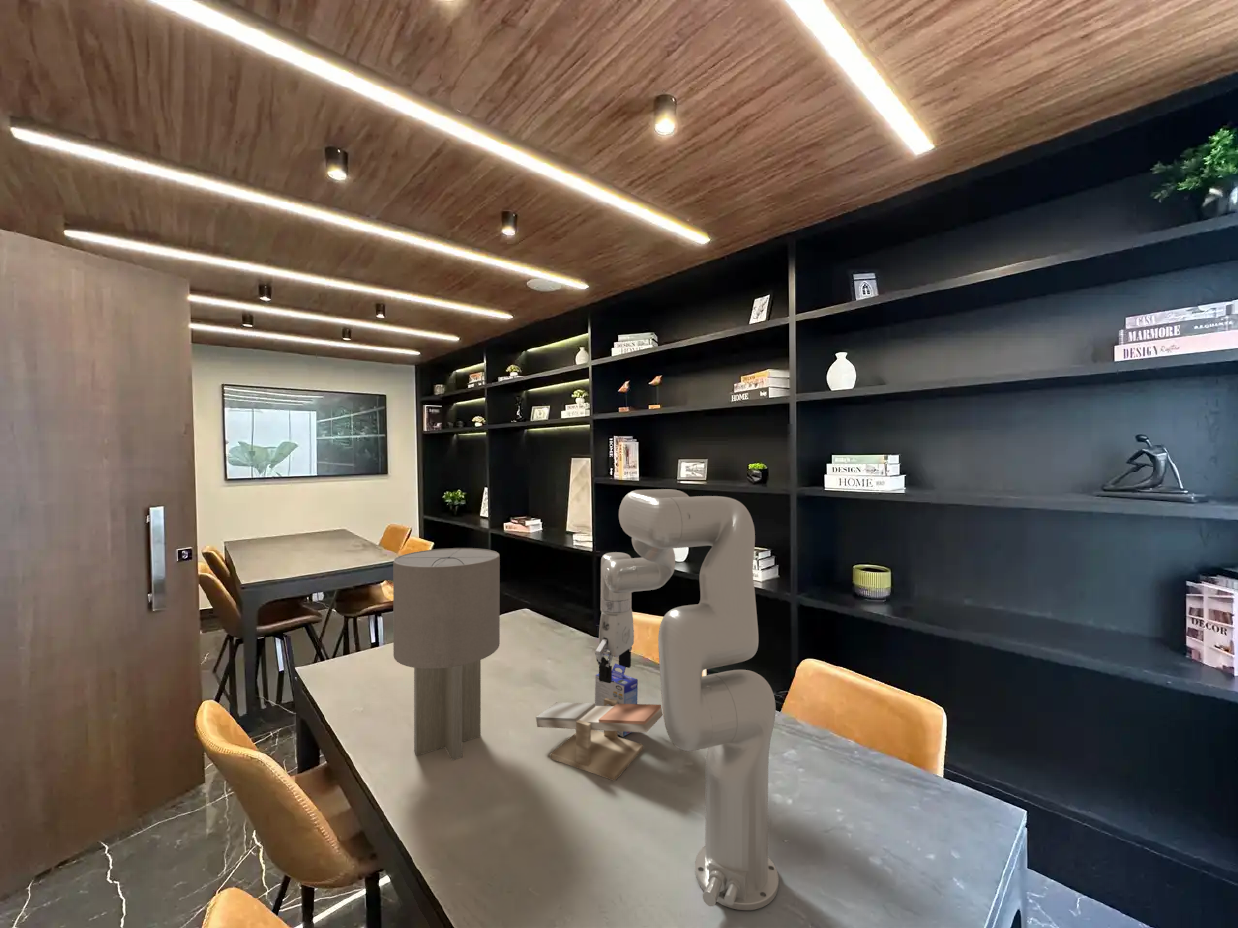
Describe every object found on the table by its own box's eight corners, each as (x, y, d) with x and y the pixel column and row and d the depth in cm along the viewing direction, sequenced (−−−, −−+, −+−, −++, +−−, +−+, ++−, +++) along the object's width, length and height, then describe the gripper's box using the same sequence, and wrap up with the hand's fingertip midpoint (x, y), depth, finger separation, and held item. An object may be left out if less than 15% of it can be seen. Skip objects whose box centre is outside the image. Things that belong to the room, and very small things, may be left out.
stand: (643, 748, 114) (643, 706, 114) (614, 780, 102) (614, 733, 102) (583, 730, 122) (583, 691, 121) (550, 758, 110) (550, 714, 110)
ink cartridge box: (639, 729, 122) (639, 669, 122) (624, 738, 118) (624, 676, 118) (608, 715, 129) (608, 658, 129) (593, 724, 125) (593, 665, 125)
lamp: (404, 787, 100) (404, 571, 100) (385, 735, 119) (385, 553, 119) (514, 751, 113) (514, 559, 112) (481, 709, 132) (481, 544, 132)
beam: (664, 712, 110) (662, 702, 110) (644, 734, 101) (642, 723, 101) (560, 709, 123) (558, 700, 123) (534, 728, 114) (532, 718, 114)
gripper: (611, 616, 114) (611, 691, 114) (645, 597, 129) (644, 664, 130) (583, 611, 118) (583, 684, 118) (619, 593, 133) (618, 658, 133)
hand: (615, 673), depth 124 cm, fingers open, 9 cm apart
